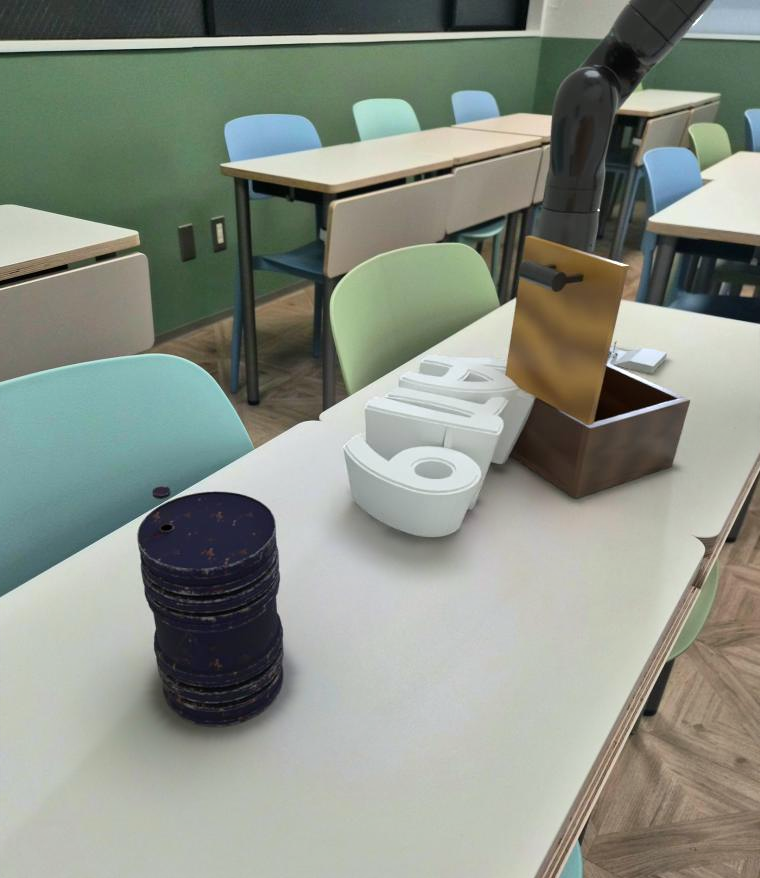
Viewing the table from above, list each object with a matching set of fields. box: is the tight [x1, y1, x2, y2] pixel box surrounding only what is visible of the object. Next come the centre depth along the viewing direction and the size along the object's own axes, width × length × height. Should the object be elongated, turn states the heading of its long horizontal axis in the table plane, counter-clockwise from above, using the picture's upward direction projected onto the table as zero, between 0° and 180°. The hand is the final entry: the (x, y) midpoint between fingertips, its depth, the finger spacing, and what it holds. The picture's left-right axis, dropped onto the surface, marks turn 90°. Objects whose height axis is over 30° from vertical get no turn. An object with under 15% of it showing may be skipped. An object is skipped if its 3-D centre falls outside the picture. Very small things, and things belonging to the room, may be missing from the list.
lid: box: [505, 235, 629, 425], centre depth 78 cm, size 17×14×5 cm
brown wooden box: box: [509, 363, 691, 500], centre depth 90 cm, size 16×14×9 cm
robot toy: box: [607, 340, 668, 375], centre depth 120 cm, size 7×12×2 cm, turn 54°
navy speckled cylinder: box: [136, 485, 284, 728], centre depth 55 cm, size 10×10×18 cm
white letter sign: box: [342, 353, 537, 538], centre depth 84 cm, size 35×16×10 cm, turn 149°
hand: (544, 368), depth 103 cm, fingers closed on milkshake, 4 cm apart
